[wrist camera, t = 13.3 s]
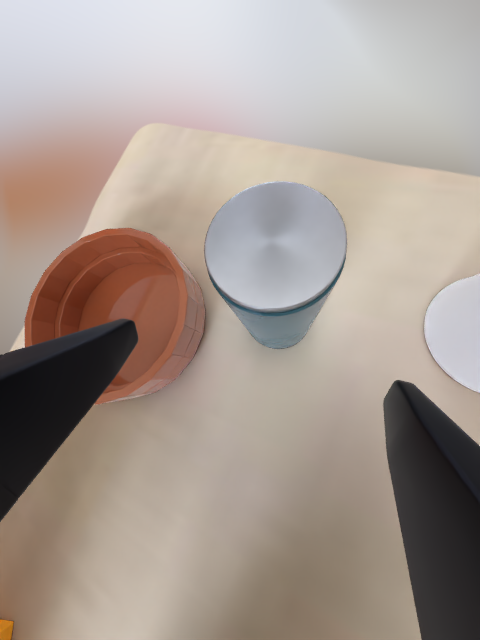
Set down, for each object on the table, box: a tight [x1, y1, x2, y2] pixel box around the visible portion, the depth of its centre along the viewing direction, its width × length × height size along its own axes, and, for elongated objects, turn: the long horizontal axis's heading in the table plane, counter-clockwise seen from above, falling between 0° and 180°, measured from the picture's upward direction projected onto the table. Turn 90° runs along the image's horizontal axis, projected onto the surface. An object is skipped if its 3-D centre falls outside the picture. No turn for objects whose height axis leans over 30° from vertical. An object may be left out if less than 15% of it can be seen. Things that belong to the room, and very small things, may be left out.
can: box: [204, 182, 347, 349], centre depth 14 cm, size 5×5×12 cm
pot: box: [25, 228, 206, 404], centre depth 19 cm, size 13×13×4 cm
